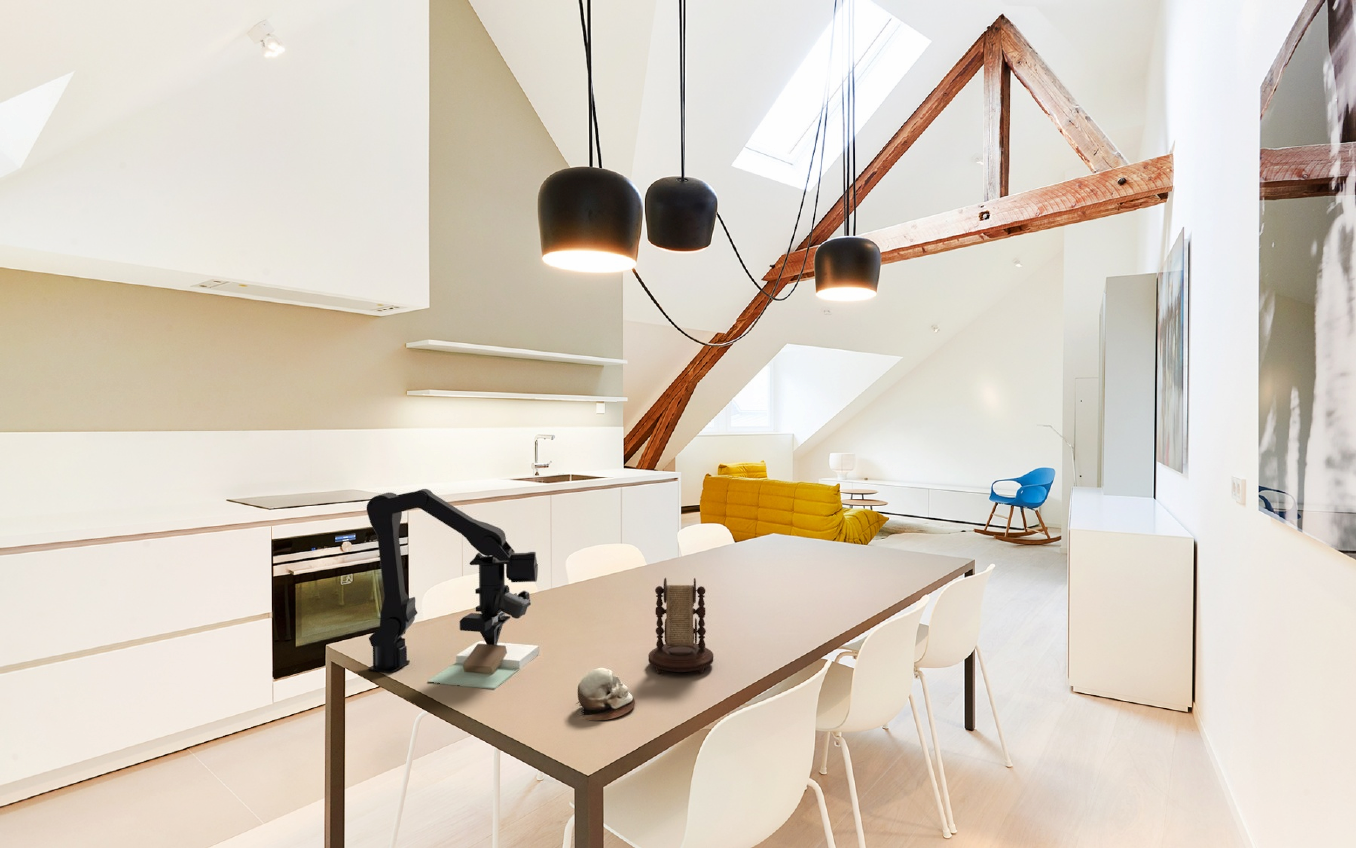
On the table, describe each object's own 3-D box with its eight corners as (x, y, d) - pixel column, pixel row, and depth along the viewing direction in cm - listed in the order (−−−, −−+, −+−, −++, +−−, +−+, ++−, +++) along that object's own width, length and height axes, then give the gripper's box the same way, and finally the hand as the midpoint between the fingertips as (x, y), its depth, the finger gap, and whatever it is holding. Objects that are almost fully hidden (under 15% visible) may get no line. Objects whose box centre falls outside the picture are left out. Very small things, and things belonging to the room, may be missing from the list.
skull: (630, 685, 137) (635, 660, 131) (634, 735, 130) (640, 712, 123) (571, 688, 135) (574, 663, 128) (572, 740, 127) (575, 717, 121)
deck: (456, 664, 153) (456, 655, 153) (479, 649, 162) (479, 641, 162) (519, 669, 149) (519, 660, 149) (539, 654, 159) (539, 645, 159)
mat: (427, 682, 142) (427, 681, 142) (455, 664, 153) (455, 663, 153) (494, 689, 138) (494, 687, 138) (519, 670, 149) (519, 668, 149)
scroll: (645, 678, 143) (644, 586, 143) (651, 654, 158) (651, 570, 158) (713, 679, 143) (712, 586, 142) (713, 654, 157) (712, 570, 157)
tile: (464, 671, 147) (462, 664, 146) (479, 650, 153) (477, 643, 153) (492, 674, 145) (491, 666, 145) (507, 652, 152) (505, 645, 151)
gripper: (504, 595, 142) (505, 667, 142) (541, 575, 160) (542, 639, 160) (457, 592, 145) (458, 663, 145) (499, 573, 163) (500, 636, 163)
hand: (492, 650), depth 153 cm, fingers closed
